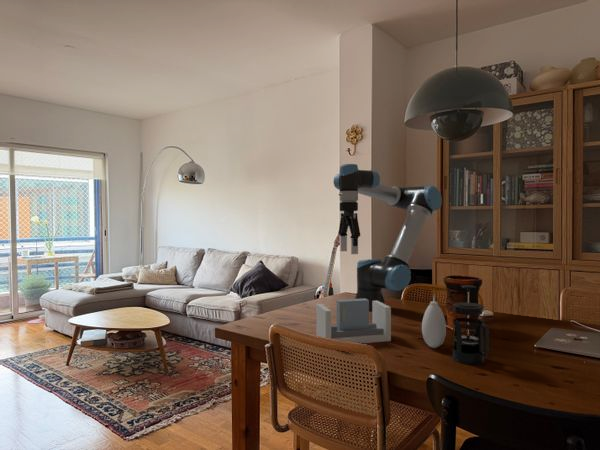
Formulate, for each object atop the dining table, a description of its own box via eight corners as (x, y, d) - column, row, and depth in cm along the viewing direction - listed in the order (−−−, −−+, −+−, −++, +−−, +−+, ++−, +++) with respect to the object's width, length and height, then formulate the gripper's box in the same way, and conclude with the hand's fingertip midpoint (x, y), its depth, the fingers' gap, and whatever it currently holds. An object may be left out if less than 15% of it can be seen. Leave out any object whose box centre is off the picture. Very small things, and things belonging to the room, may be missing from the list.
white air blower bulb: (421, 349, 143) (421, 295, 142) (421, 342, 150) (421, 291, 150) (446, 351, 141) (447, 296, 140) (445, 344, 148) (445, 292, 148)
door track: (377, 331, 165) (377, 300, 164) (390, 340, 153) (390, 307, 153) (316, 336, 159) (316, 303, 159) (325, 346, 148) (325, 311, 147)
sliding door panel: (365, 330, 159) (365, 298, 159) (369, 333, 155) (369, 300, 155) (336, 332, 156) (336, 299, 156) (340, 335, 153) (339, 302, 152)
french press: (443, 357, 135) (443, 284, 135) (463, 352, 140) (463, 281, 140) (476, 369, 125) (477, 290, 125) (496, 362, 130) (496, 287, 130)
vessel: (435, 323, 176) (436, 274, 175) (466, 322, 179) (468, 274, 178) (454, 333, 162) (456, 280, 161) (488, 331, 165) (490, 279, 164)
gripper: (331, 202, 191) (331, 250, 191) (350, 200, 166) (350, 255, 167) (347, 202, 192) (347, 249, 193) (368, 200, 168) (368, 255, 169)
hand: (348, 252), depth 180 cm, fingers open, 13 cm apart
